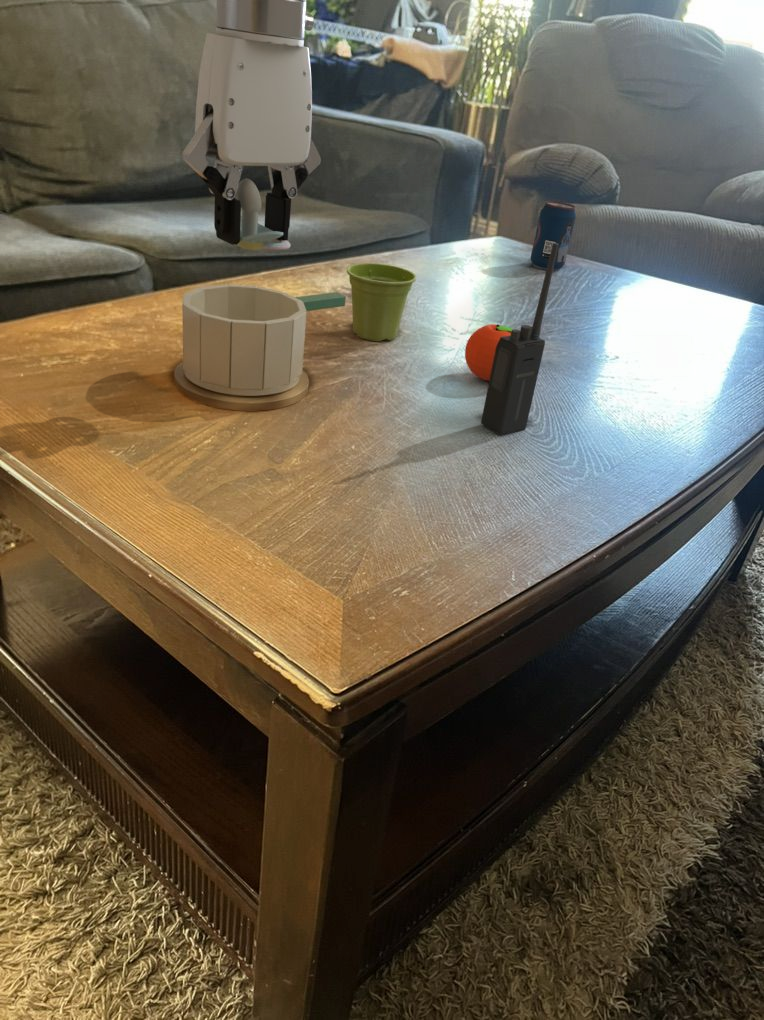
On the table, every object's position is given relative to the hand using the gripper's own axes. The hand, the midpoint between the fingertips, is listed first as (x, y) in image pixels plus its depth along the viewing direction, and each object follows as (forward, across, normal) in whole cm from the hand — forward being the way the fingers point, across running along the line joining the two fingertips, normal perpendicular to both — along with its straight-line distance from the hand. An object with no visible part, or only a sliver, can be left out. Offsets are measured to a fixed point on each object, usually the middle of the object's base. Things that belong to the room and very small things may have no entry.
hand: (252, 237), depth 76 cm
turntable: (+17, -2, -4) cm, 18 cm away
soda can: (+17, -90, -28) cm, 95 cm away
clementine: (+17, -31, +8) cm, 37 cm away
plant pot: (+17, -28, -10) cm, 35 cm away
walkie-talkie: (+17, -22, +19) cm, 33 cm away
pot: (+16, -6, -4) cm, 17 cm away
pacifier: (+1, -1, 0) cm, 1 cm away
